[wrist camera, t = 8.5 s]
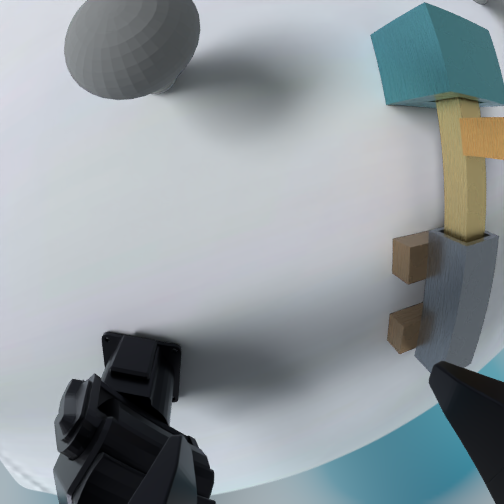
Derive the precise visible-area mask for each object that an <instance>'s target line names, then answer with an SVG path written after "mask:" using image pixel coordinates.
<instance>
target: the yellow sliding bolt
mask: <svg viewBox="0 0 504 504" xmlns="http://www.w3.org/2000/svg"><path fill="white" fill-rule="evenodd" d="M435 101H436V107H437V113H438V120H439V127H440V135H441V144H442V155H443V169H444V193H445V221H444V234H446V235H449V236H451V237H453V238H456V239H458V240H460V241H463V242H465V243H468V242H471V241H474V240H478V239H481V238H484V233H485V217H486V166H485V158H493V159H501V160H504V117H482V118H481V115H480V108H479V103H478V101H476V100H471V99H467V98H462V97H454V98H447V99H441V100H435Z"/></svg>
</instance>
